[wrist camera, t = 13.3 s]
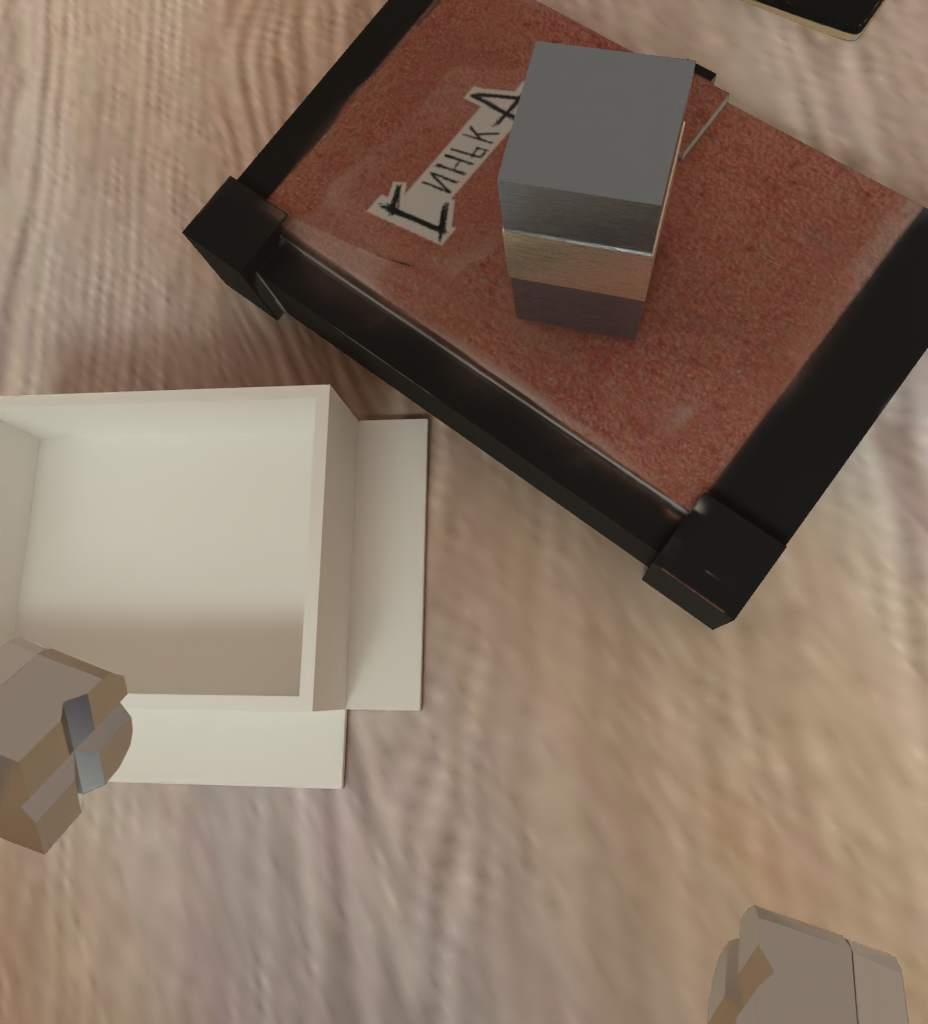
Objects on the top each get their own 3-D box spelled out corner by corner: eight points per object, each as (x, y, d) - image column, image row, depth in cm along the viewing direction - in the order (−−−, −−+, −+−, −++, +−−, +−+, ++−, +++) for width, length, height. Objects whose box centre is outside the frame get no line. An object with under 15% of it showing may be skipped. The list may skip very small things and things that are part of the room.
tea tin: (636, 342, 30) (662, 207, 22) (515, 319, 31) (494, 181, 22) (663, 230, 31) (698, 59, 22) (543, 210, 31) (534, 38, 23)
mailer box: (419, 790, 31) (394, 805, 27) (-74, 775, 34) (-168, 786, 30) (428, 420, 35) (407, 381, 30) (-22, 433, 37) (-100, 399, 33)
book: (953, 292, 34) (1017, 225, 29) (709, 631, 32) (734, 620, 27) (458, 17, 40) (441, -76, 35) (231, 290, 38) (182, 232, 33)
